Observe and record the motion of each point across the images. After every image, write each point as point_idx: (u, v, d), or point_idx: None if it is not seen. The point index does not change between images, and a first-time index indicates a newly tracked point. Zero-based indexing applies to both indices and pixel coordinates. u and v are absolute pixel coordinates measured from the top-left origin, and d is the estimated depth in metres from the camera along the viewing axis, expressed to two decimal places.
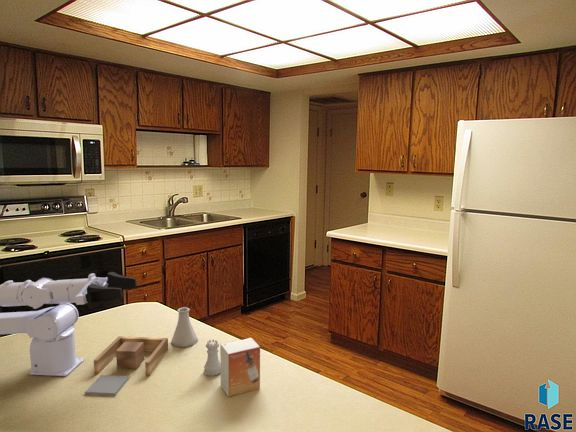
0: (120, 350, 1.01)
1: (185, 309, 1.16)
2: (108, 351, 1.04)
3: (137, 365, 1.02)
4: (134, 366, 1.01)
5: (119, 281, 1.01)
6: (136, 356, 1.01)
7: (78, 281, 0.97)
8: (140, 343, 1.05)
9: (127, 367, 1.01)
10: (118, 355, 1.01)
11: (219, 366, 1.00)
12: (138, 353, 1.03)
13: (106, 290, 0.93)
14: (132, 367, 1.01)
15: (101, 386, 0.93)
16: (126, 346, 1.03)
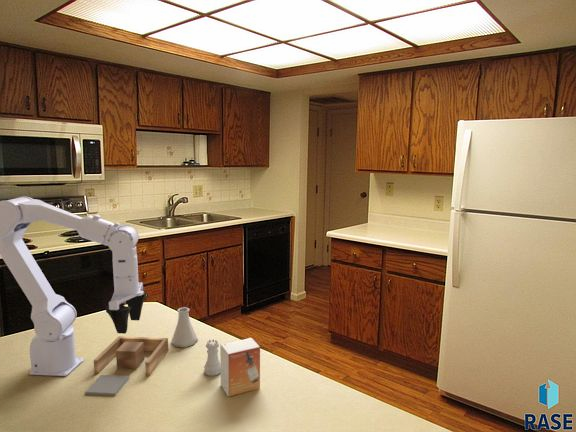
0: (120, 350, 1.01)
1: (185, 309, 1.16)
2: (108, 351, 1.04)
3: (137, 365, 1.02)
4: (134, 366, 1.01)
5: (136, 305, 1.05)
6: (136, 356, 1.01)
7: (134, 283, 0.99)
8: (140, 343, 1.05)
9: (127, 367, 1.01)
10: (118, 355, 1.01)
11: (219, 366, 1.00)
12: (138, 353, 1.03)
13: (124, 322, 0.97)
14: (132, 367, 1.01)
15: (101, 386, 0.93)
16: (126, 346, 1.03)
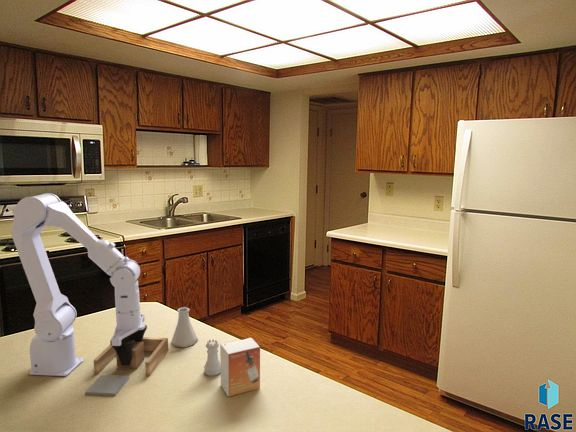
0: None
1: (185, 309, 1.16)
2: (108, 351, 1.04)
3: (137, 365, 1.02)
4: (134, 365, 1.01)
5: (136, 339, 1.05)
6: (136, 356, 1.01)
7: (136, 317, 1.01)
8: (140, 343, 1.05)
9: (127, 367, 1.01)
10: None
11: (219, 366, 1.00)
12: (138, 353, 1.03)
13: (128, 354, 1.00)
14: (132, 367, 1.01)
15: (101, 386, 0.93)
16: None
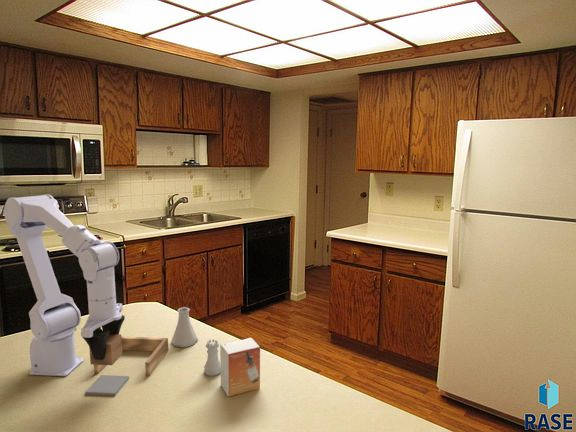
0: None
1: (185, 309, 1.16)
2: None
3: (113, 360, 0.91)
4: (109, 360, 0.90)
5: (112, 331, 0.95)
6: (112, 350, 0.90)
7: (111, 306, 0.90)
8: (117, 335, 0.94)
9: (102, 362, 0.90)
10: None
11: (219, 366, 1.00)
12: (115, 346, 0.92)
13: (101, 347, 0.89)
14: (108, 362, 0.90)
15: (101, 386, 0.93)
16: None
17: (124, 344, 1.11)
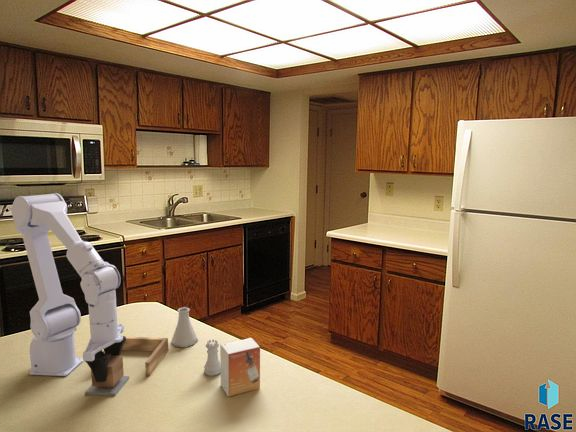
0: None
1: (185, 309, 1.16)
2: None
3: (114, 382, 0.91)
4: (111, 382, 0.91)
5: (114, 352, 0.95)
6: (113, 372, 0.91)
7: (113, 329, 0.90)
8: (118, 357, 0.95)
9: (103, 384, 0.91)
10: None
11: (219, 366, 1.00)
12: (116, 368, 0.92)
13: (103, 369, 0.89)
14: (109, 384, 0.91)
15: None
16: None
17: (124, 344, 1.11)
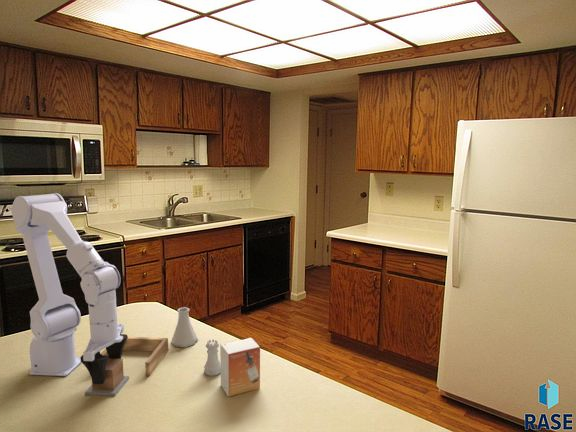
0: None
1: (185, 309, 1.16)
2: None
3: (114, 385, 0.92)
4: (111, 386, 0.91)
5: (116, 350, 0.96)
6: (114, 375, 0.91)
7: (113, 329, 0.90)
8: (119, 360, 0.95)
9: (103, 387, 0.91)
10: None
11: (219, 366, 1.00)
12: (116, 371, 0.93)
13: (101, 372, 0.89)
14: (109, 387, 0.91)
15: None
16: None
17: None
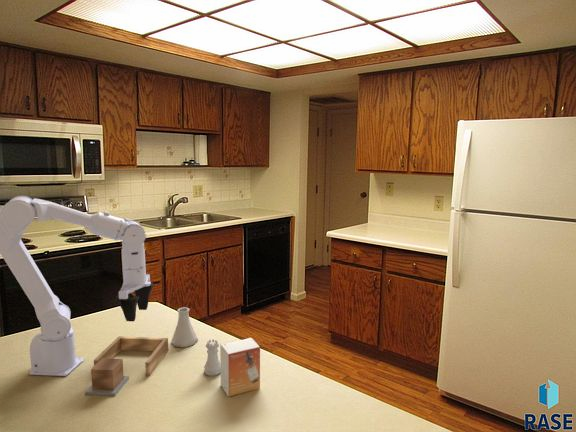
0: (96, 368, 0.91)
1: (185, 309, 1.16)
2: (108, 351, 1.04)
3: (114, 385, 0.92)
4: (111, 386, 0.91)
5: (144, 295, 1.12)
6: (114, 375, 0.91)
7: (142, 274, 1.06)
8: (119, 360, 0.95)
9: (103, 387, 0.91)
10: (93, 374, 0.91)
11: (219, 366, 1.00)
12: (116, 371, 0.93)
13: (132, 310, 1.04)
14: (109, 387, 0.91)
15: None
16: (103, 363, 0.93)
17: (124, 344, 1.11)
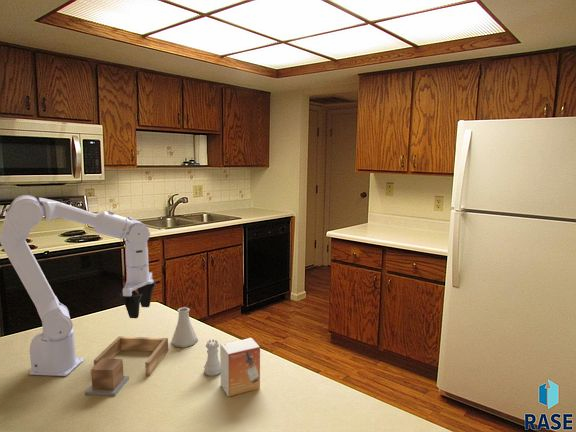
0: (96, 368, 0.91)
1: (185, 309, 1.16)
2: (108, 351, 1.04)
3: (114, 385, 0.92)
4: (111, 386, 0.91)
5: (146, 293, 1.14)
6: (114, 375, 0.91)
7: (145, 272, 1.08)
8: (119, 360, 0.95)
9: (103, 387, 0.91)
10: (93, 374, 0.91)
11: (219, 366, 1.00)
12: (116, 371, 0.93)
13: (136, 307, 1.06)
14: (109, 387, 0.91)
15: None
16: (103, 363, 0.93)
17: (124, 344, 1.11)
